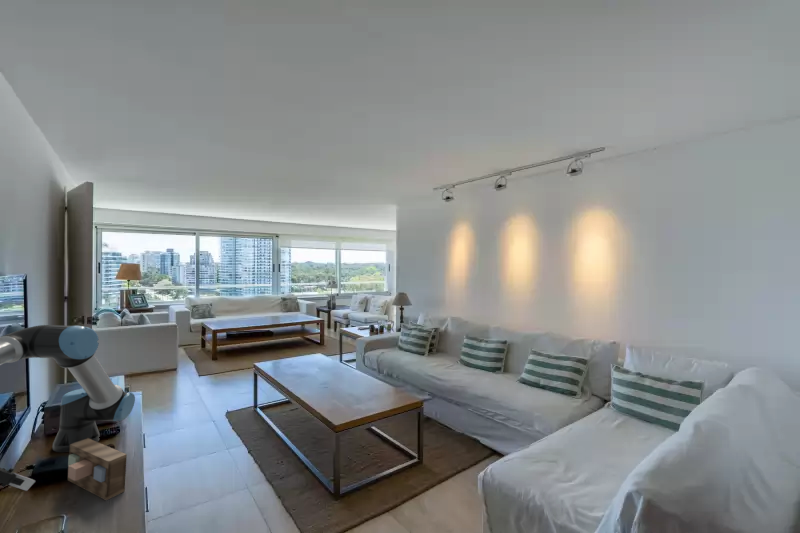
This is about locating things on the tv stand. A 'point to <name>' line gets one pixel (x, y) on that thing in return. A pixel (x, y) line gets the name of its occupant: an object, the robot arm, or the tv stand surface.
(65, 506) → the tv stand surface
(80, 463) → the terracotta key
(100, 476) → the slate key
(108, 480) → the wooden block
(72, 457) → the sage key
